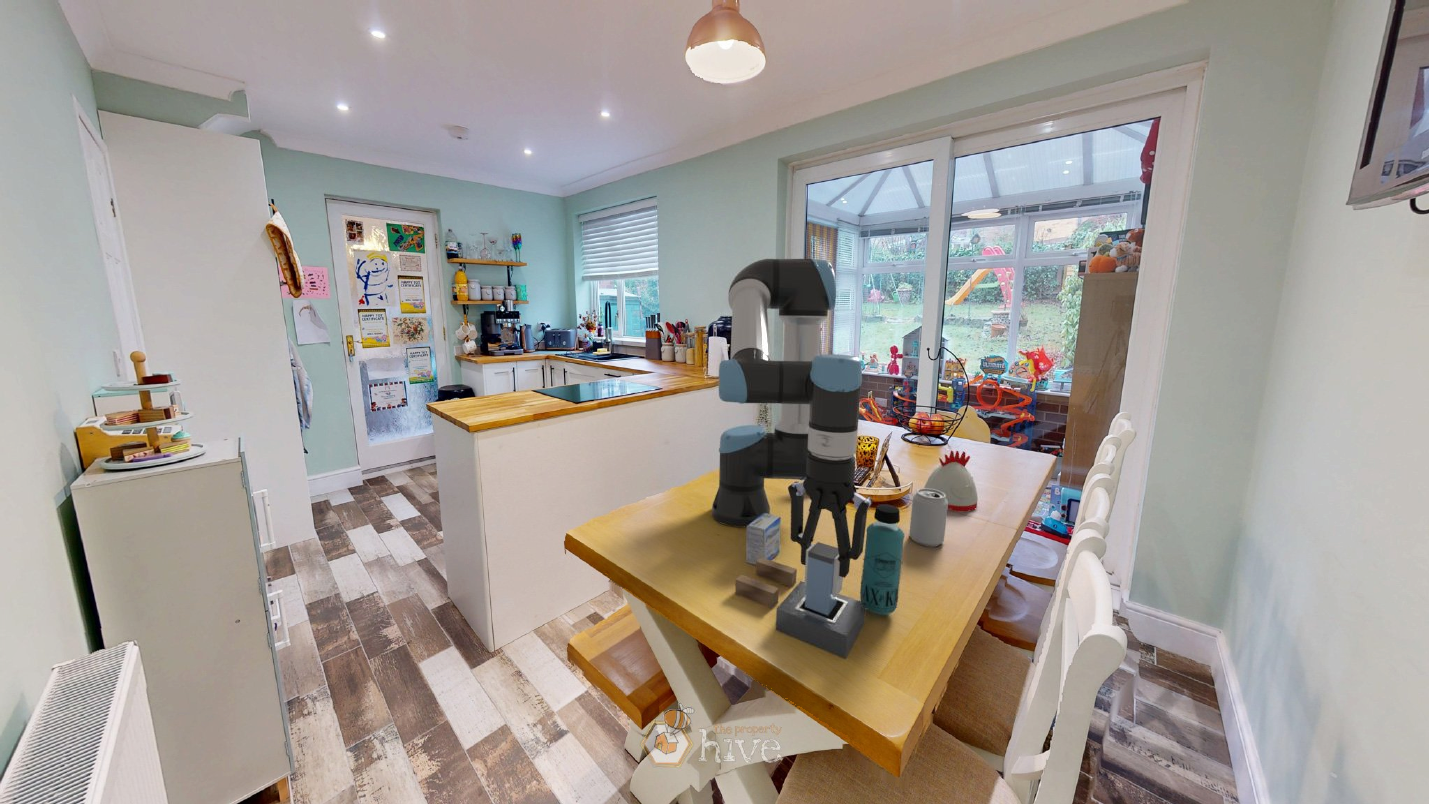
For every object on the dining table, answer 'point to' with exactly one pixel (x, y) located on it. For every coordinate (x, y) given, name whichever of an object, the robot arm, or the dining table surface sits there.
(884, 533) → the beverage bottle
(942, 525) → the can
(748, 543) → the medicine box
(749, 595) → the pair of wooden blocks
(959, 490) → the red crested white hat
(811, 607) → the plug
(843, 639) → the port
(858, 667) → the dining table surface
